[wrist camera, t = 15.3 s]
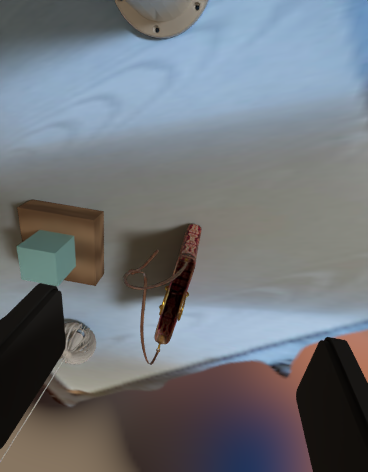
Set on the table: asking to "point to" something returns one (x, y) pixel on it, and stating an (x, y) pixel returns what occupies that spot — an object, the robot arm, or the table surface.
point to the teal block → (47, 257)
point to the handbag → (171, 288)
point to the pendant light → (72, 345)
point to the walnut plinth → (70, 223)
